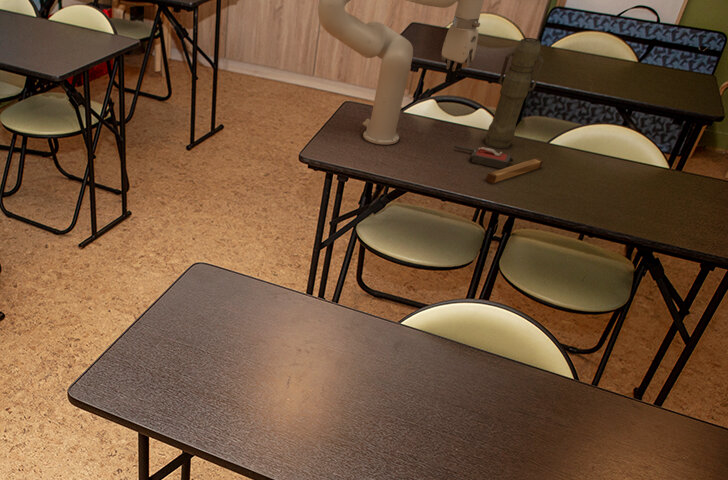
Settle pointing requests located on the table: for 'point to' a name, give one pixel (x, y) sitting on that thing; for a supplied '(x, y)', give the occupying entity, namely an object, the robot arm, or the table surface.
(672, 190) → the table surface
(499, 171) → the bar
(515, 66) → the thermos
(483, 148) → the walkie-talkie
